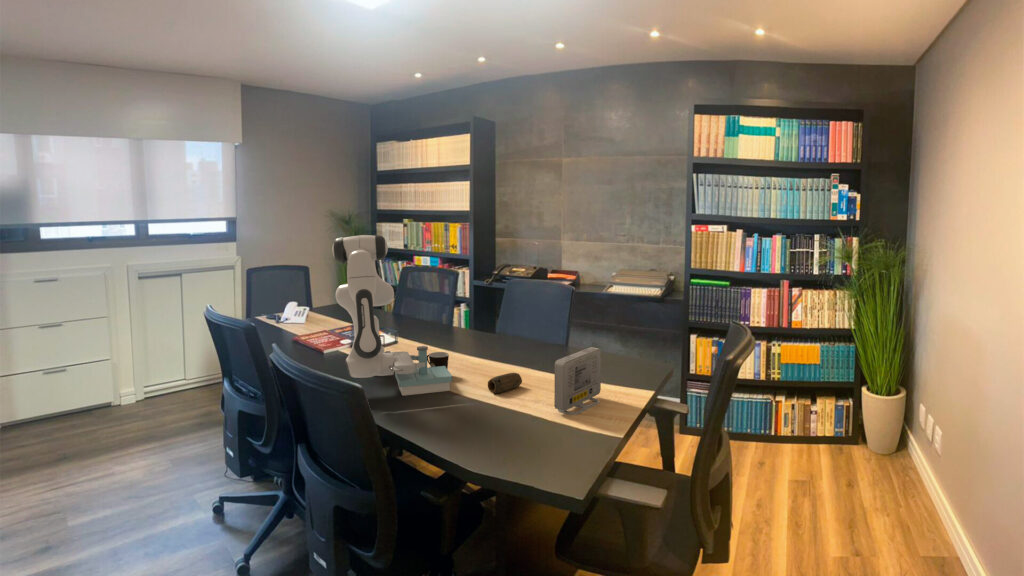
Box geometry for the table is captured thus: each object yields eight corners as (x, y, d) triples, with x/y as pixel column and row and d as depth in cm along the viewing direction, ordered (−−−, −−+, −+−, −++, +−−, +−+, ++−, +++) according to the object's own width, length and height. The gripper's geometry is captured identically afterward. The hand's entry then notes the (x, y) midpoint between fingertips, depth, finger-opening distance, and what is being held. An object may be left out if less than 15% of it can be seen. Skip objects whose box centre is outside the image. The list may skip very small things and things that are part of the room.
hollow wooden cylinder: (499, 397, 239) (499, 380, 238) (486, 393, 244) (486, 377, 243) (523, 387, 250) (523, 371, 249) (510, 384, 255) (510, 368, 254)
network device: (587, 394, 241) (587, 345, 237) (606, 399, 235) (607, 348, 232) (549, 413, 221) (549, 359, 218) (569, 418, 216) (569, 364, 212)
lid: (395, 375, 252) (393, 345, 250) (445, 371, 258) (444, 340, 256) (399, 387, 238) (398, 354, 235) (452, 381, 244) (451, 349, 242)
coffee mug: (451, 378, 262) (451, 355, 261) (432, 380, 259) (431, 358, 258) (444, 371, 273) (443, 349, 271) (425, 373, 270) (424, 351, 268)
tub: (398, 386, 252) (397, 372, 251) (443, 382, 257) (443, 368, 256) (402, 397, 240) (401, 382, 239) (449, 391, 245) (449, 377, 244)
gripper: (390, 363, 232) (427, 360, 236) (385, 350, 251) (419, 347, 255) (391, 379, 233) (427, 375, 237) (386, 364, 252) (419, 361, 256)
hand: (423, 360), depth 246 cm, fingers open, 8 cm apart
